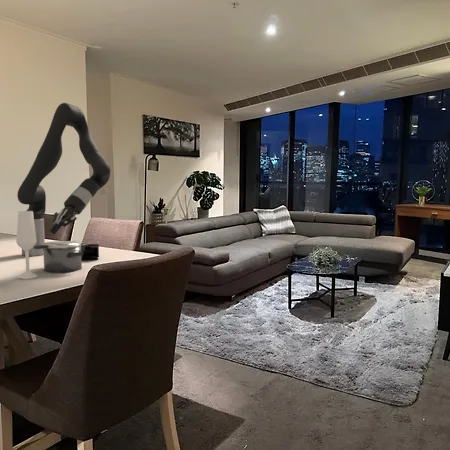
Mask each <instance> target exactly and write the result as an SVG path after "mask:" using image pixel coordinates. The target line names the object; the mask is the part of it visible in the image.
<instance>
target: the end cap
mask: <svg viewBox="0 0 450 450" xmlns="http://www.w3.org/2000/svg"><path fill="white" fill-rule="evenodd" d="M84 245H85V251H83V255H81V257H82V262H91V261H99V257H100V253H99V252H100V251H99V250H100V249H99V246H100V245H99V243H96V244H95V243H93V244H91V243H90V244H84Z"/></svg>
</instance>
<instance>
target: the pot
mask: <svg viewBox="0 0 450 450" xmlns="http://www.w3.org/2000/svg"><path fill="white" fill-rule="evenodd" d="M85 245H86V244H83V245H81V247H77V248H68V249H51V248H44V249H43V251H44V254H43V271H44V272H46V273H50V274H64V273H65V274H66V273H73V272H77V271H81V270H82V268H83V266H82V264H83V263H82V262H83V261H82V257H81V255H83V251H85Z"/></svg>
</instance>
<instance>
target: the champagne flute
mask: <svg viewBox="0 0 450 450" xmlns="http://www.w3.org/2000/svg"><path fill="white" fill-rule="evenodd" d="M16 227H17V228H16V239H15V240H16V241H15V242H16V244H17V245H18V247H19V248H21V250H22V249H23V250H25V255H24V256H25V271H24V272H23V273H22V274H20V275H19V276H17V278H18V279H20V278H22V279H23V280H26V279H34V278H37V277H39V276H38V274H37V273H36V274H35V273H34V272H32V271H30V256H29V250H30V249H32V248H33V247H34V245H35V244H36V242H37V238H36V231H35V224H34V216H33V211H26V210H22V211H21V210H19V211H18V212H17V226H16Z"/></svg>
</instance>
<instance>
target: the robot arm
mask: <svg viewBox="0 0 450 450" xmlns="http://www.w3.org/2000/svg"><path fill="white" fill-rule="evenodd" d="M86 118H87V117H86V116H85V113H84V111H83V109H81V108H80V107H78V106H76V105H73V104H70V103H68V102H61V103H60V104H59V105H58V106H57V107H56V109H55V111H54V114H53V117H52V119H51V123H50V126H49V129H48V132H47V133H46V136H45V138H44V140H43V142H42V144H41V146H40V148H39V150H38V152H37V155H36V157H35V159H34V161H33V163H32V166H31V167H30V169H29V172H28V173H27V175H26V176H25V178H24V180H23V181H22V182H21V184H20V185H19V188H18V191H17V195H16V196H17V200H18V201H19V203H20V204H22V205H28V208H27V209H26V210H25V211H33V216H34V224H35V231H36V238H37V242H36V244H35V245H34V246H37V245H43V244H44V243H46V242H45V240H46V239H45V213H46V211H47V210H46V205H47V203H46V202H47V198H46V197H47V195H46V191H45V189H44V187H43V186H42V185H40V184H41V183H42V181H43V179H45V178H46V177H47V176H48V175H49V174H50V173H51V172H53V170H55V168H56V167H57V166H58V165H59V164H58V163H59V162H60V160H61V157H62V155H63V143H62V141H63V140H62V136H63V133H64V131H65V128H66V127H67V126H69V127H71V128H74V130H75V131H76V133H77V134H78V140H79V141H78V146H79V150H80V152H81V154H82V157H83V158H84V160H85V161H86V163H87V164H88V165H90V166H91V168H92V171H93V172H92V175H91V176H90V177H88V178H85V179H84V180H82V182H81V183H80V184H79V185H78V187H77V188H76V189H74V191H72V193H70V195H69V196H68V197H67V198H66V200H65V201H64V202H63V206H64V207H63V208H62V209H61V210H60V211H59V212H57V211H56V212H54V214H53V218H52V223H53V225H52V226H51V227H50V229H49V230H48V231H49V233H50V234H51V235H56V233H57V232H58V231H59V230H60V229H61V228H63V227H67V226H68V225H70V224H72V223H73V222H74V221H76V220H77V219H78V218H77V215H81V214H82V212H83V211H84V209H85V208H86V207H87V206H88V204H89V203H90V202H91V200H92V199H93V198H94V196H95V195H96V194H97V192H98V191H99V190H101V189H102V188H103V187H104V186H105V185H106V184H107V183H108V182H109V180H110V177H111V167H110V164H109V162H108V161H107V160H106V159H105V157H104V156H103V155H102V154H101V152H100V150H99V148H98V146H97V144H96V143H95V140H94V138H93V135H92V133H91V131H90V128H89V125H88V122H87V119H86ZM21 255H22V256H25V250H23V249H22V248H21ZM42 255H43V256H44V251H43V249H34V247H33V248H32V249H30V250H29V257H31V256H34V257H36V256H42Z"/></svg>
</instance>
